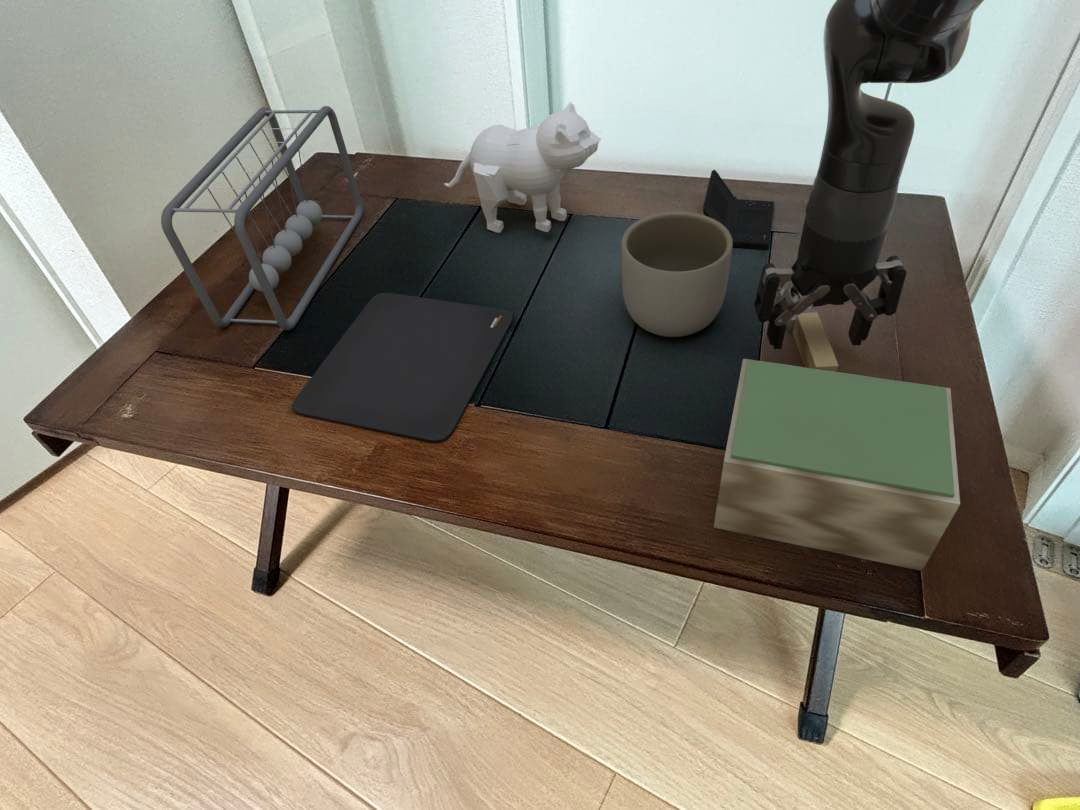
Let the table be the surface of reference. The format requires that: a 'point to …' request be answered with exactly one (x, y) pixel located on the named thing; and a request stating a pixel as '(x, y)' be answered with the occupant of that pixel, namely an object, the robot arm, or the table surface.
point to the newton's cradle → (296, 225)
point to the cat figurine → (528, 164)
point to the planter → (675, 271)
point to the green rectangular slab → (846, 427)
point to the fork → (811, 339)
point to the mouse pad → (406, 366)
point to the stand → (832, 507)
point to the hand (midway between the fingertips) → (814, 342)
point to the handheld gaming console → (739, 215)
